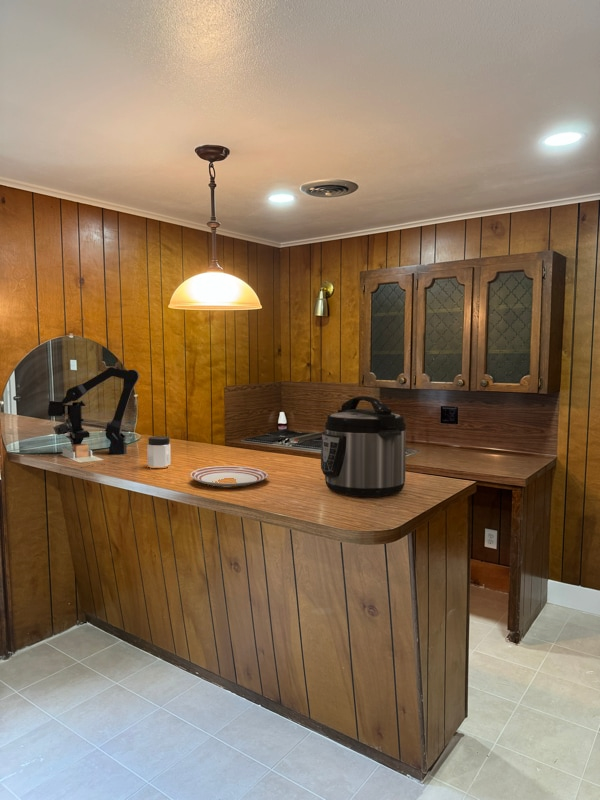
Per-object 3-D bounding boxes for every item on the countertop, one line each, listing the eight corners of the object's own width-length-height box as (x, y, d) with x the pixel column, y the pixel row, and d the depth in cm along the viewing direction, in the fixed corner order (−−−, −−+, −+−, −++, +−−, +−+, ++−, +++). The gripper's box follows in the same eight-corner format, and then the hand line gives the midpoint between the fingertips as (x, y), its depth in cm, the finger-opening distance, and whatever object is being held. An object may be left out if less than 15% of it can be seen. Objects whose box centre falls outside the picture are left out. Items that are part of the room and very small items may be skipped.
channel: (59, 457, 240) (59, 448, 240) (83, 455, 247) (83, 446, 247) (79, 466, 222) (79, 456, 222) (103, 463, 229) (103, 453, 229)
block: (72, 456, 236) (72, 444, 235) (84, 455, 239) (84, 443, 238) (76, 457, 232) (76, 446, 231) (88, 456, 235) (88, 445, 235)
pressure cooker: (324, 478, 204) (326, 393, 202) (402, 482, 201) (405, 394, 198) (316, 498, 175) (318, 398, 172) (407, 502, 171) (410, 400, 169)
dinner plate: (282, 479, 202) (282, 470, 202) (236, 495, 179) (236, 485, 179) (223, 471, 216) (223, 463, 216) (173, 484, 193) (173, 475, 193)
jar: (163, 469, 217) (163, 439, 216) (144, 468, 219) (144, 438, 218) (173, 465, 225) (173, 436, 225) (155, 464, 227) (155, 435, 226)
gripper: (48, 415, 241) (49, 451, 242) (62, 419, 227) (63, 457, 228) (74, 414, 248) (75, 448, 249) (89, 417, 234) (90, 454, 235)
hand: (75, 452), depth 240 cm, fingers closed
